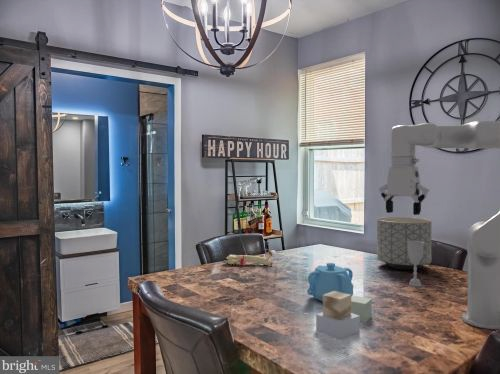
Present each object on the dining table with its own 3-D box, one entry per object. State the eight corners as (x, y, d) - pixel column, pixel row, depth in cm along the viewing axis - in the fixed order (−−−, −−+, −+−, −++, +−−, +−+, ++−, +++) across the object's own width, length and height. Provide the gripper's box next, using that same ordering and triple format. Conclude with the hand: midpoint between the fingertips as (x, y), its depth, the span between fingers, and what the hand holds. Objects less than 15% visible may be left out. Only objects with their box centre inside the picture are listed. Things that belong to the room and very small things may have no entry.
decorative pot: (301, 302, 146) (301, 265, 145) (318, 290, 159) (317, 257, 159) (345, 309, 137) (345, 270, 136) (358, 297, 151) (358, 261, 150)
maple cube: (351, 314, 119) (351, 294, 118) (340, 320, 114) (340, 299, 114) (334, 310, 123) (334, 290, 123) (322, 314, 119) (322, 295, 118)
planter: (427, 276, 180) (427, 223, 179) (371, 269, 193) (371, 220, 192) (434, 265, 201) (434, 218, 201) (383, 260, 214) (383, 215, 214)
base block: (359, 332, 118) (359, 315, 118) (339, 340, 112) (339, 322, 112) (336, 323, 125) (336, 307, 125) (316, 330, 120) (316, 314, 119)
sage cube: (371, 317, 130) (371, 298, 130) (365, 322, 125) (365, 303, 125) (353, 313, 133) (353, 295, 133) (347, 318, 128) (347, 300, 128)
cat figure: (272, 265, 209) (226, 260, 213) (274, 249, 209) (227, 244, 212) (271, 270, 199) (222, 265, 203) (272, 253, 199) (223, 248, 202)
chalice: (425, 287, 162) (426, 243, 162) (408, 286, 164) (408, 243, 163) (421, 282, 170) (422, 240, 169) (405, 282, 171) (405, 240, 170)
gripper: (434, 162, 129) (433, 214, 130) (385, 163, 142) (385, 211, 143) (422, 161, 124) (422, 216, 125) (374, 163, 137) (373, 212, 138)
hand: (402, 213), depth 134 cm, fingers open, 9 cm apart
